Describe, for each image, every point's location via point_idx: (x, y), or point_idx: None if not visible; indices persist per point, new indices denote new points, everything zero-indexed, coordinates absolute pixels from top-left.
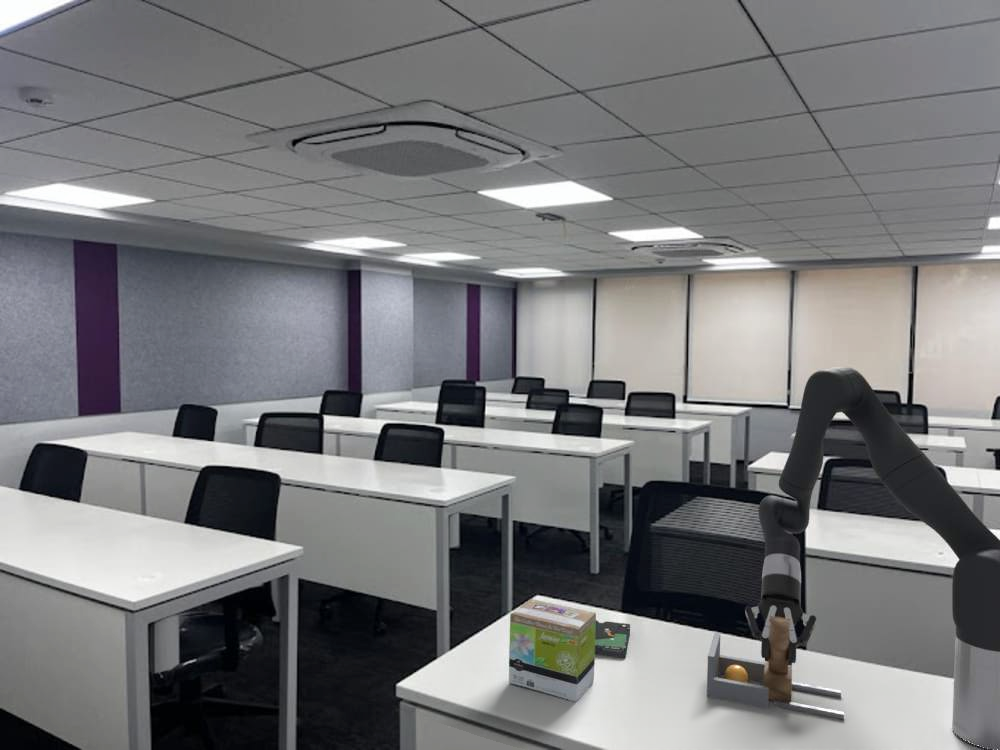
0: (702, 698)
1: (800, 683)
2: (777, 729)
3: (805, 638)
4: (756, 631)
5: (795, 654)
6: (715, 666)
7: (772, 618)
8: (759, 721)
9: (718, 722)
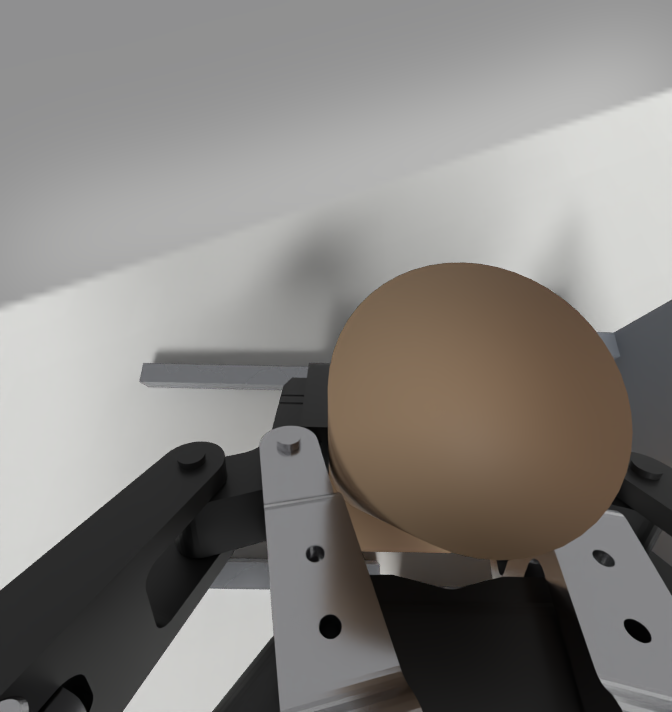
0: None
1: (269, 588)
2: (357, 245)
3: (172, 459)
4: (632, 459)
5: (285, 398)
6: (655, 391)
7: (590, 405)
8: (408, 267)
9: (510, 224)
